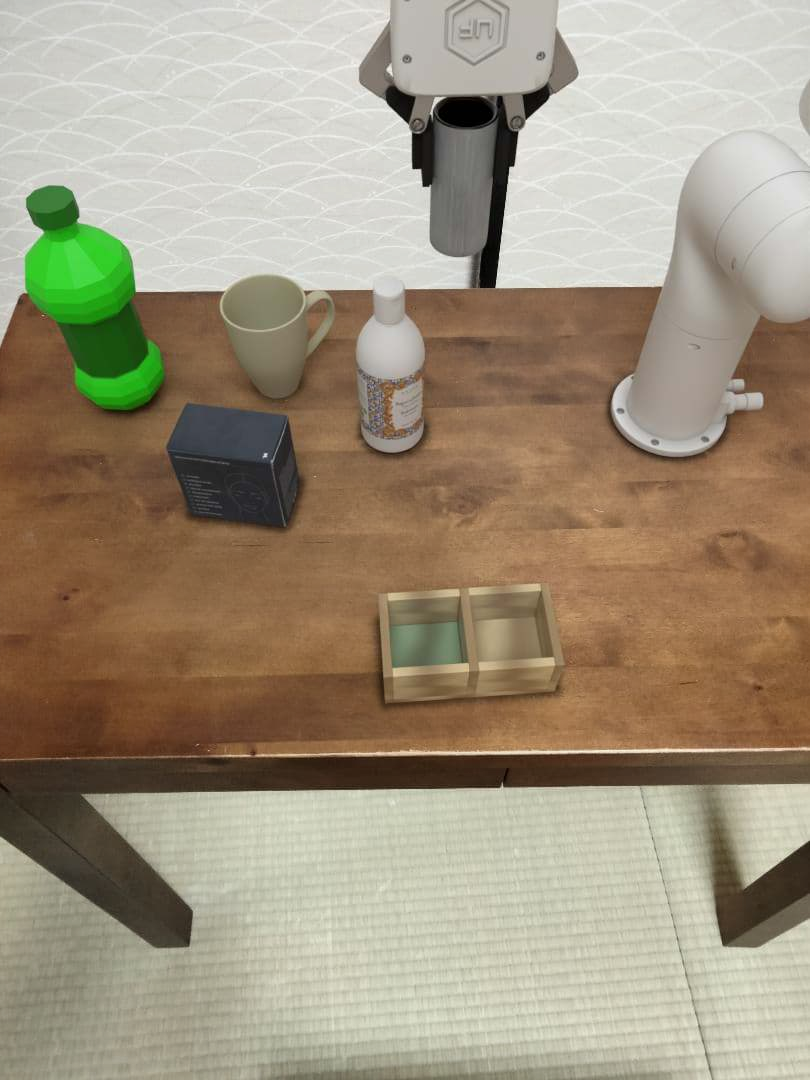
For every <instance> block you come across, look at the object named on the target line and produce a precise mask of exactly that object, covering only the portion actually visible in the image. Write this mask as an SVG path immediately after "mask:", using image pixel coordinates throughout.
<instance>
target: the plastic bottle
mask: <svg viewBox="0 0 810 1080" xmlns="http://www.w3.org/2000/svg"><path fill="white" fill-rule="evenodd" d="M25 208H26V210H27V213H28V215H29V217H30V219H31V222H32V224H33V225H34V226H35V227H37V228H39V229H40V230H42V231H43V233H42V234H41V236H39V238H38V239H37V240H36V241H35V242H34V244H33V245H32V246H31V247H30V249H29V250H28V251H27V253H26V254H25V255H24V289H25V290H26V293H27V295H28V297H29V299H30V300H31V302H32V303H33V304H34V305H35V307H37V309H38V310H40V311H41V312H43V313H44V314H45V315H47V316H48V317H50V318H51V319H52V320H54V321H55V322H56V324H57V326H58V328H59V330H60V332H61V334H62V337H63V340H64V341H65V343H66V345H67V347H68V349H69V352H70V354H71V356H72V358H73V360H74V363H73V365H74V366H73V367H74V384H75V386H76V387H77V390H78V391H79V392H80V393H81V394H82V395H84V396H85V397H86V398H87V399H89V400H90V401H91V402H93V403H94V404H95V405H97V406H99V407H100V408H101V409H104V410H115V411H116V410H117V411H132V410H135V409H137V408H140V407H142V406H144V405H145V404H146V403H148V402H150V400H151V399H152V398H153V396H154V395H155V393H157V391H158V390H159V389H160V387H162V385H163V383H164V380H165V379H164V378H165V369H164V363H163V362H164V361H163V356H162V353H161V350H160V348H159V347H158V346H157V345H156V344H155V343H154V342H153V341H151V340H150V339H149V338H147V336H146V334H145V330H144V328H143V325H142V323H141V322H142V321H141V319H140V317H139V314H138V311H137V307H136V306H135V302H134V300H133V296H134V295H136V293H137V288H136V279H135V278H136V277H135V269H134V262H133V258H132V255H131V252H130V250H129V249H128V247H127V246H126V245H125V244H124V243H123V242H122V241H121V240H120V239H119V238H116V237H115V236H114V235H112V234H110V233H108V232H107V231H105V230H103V229H102V228H100V227H96V226H93V225H90V224H86V223H82V222H78V219H79V218H80V217H81V216H80V207H79V205H78V203H77V200H76V197H75V194H74V191H73V190H71V189H69V188H67V187H66V186H64V185H45V186H43V187H39V188H37V189H34V190H33V191H32V192H31V193H30V194H29V195H28V196H26V198H25Z"/></svg>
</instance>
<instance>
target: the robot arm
mask: <svg viewBox="0 0 810 1080" xmlns="http://www.w3.org/2000/svg"><path fill="white" fill-rule="evenodd" d="M389 1H390V4H389V5H390V6H389V9H390V10H389V12H390V13H389V16H390V17H389V21H388V22H387V23H386V25H385V27H384V28H383V30H381V33H380V34H379V35H378V37H377V39H376V40H375V41H374V43H373V44H372V46H371V47H370V49H369V51H368V52H367V54H366V55H365V57H364V58H363V59H362V62H361V63H360V64H359V66H358V81H359V84H360V85H361V86H362V87H364V88H365V89H366V90H367V91H369V92H370V93H372V94H374V95H375V96H376V97H377V98H379V99H382V100H383V101H385V102H386V105H387V106H388V107H389V108H390V109H392V111H393V112H394V113H396V114H397V115H398V116H399V117H400V118H401V119H402V120H403V122H405V123H406V124H407V125H408V128H409V130H410V132H411V170H420V174H421V185H422V186H421V187H422V188H431V185H432V182H433V148H434V133H433V125H432V117H433V114H431V112H432V110H433V105H434V101H435V98H446V97H468V96H481V97H500V96H501V97H502V101H503V104H501V105H500V107H499V108H498V107H497V108H498V111H499V118H498V129H497V139H496V150H495V160H494V171H493V182H494V184H496V185H497V186H505V185H506V178H507V169H508V168H514V167H515V166H516V160H517V159H516V158H517V150H518V143H519V142H518V141H519V135H520V131H521V130H523V129H525V126H526V122H527V120H529V118H530V117H532V116H533V115H534V114H535V113H536V112H537V111H538V110H539V109H540V108H541V107H542V106H544V105H545V104H546V103H547V102H548V101H549V99H550V97H551V96H553V95H556V94H557V93H559V92H560V91H561V90H563V89H565V88H566V87H567V86H569V85H570V84H572V83H573V82H574V81H576V80H577V79H578V77H579V69H578V66H577V62H576V59H575V58H574V55H573V54H572V51H571V50H570V48H569V47H568V45H567V43H566V41H565V39H564V37H563V36H562V34H561V32H560V30H559V29H558V27H557V23H558V14H559V13H558V11H559V0H389ZM390 65H391V73H392V74H391V73H390V72H389V71H387V70H388V68H389V67H390ZM798 115H799V119H800V122H801V124H802V127H803V129H804V131H805V132H806V133H807V135H808V136H809V137H810V79H808V81H807V83H806V84H805V85H804V88H803V89H802V91H801V95H800V98H799V101H798ZM675 219H676V220H675V229H674V239H673V240H674V241H673V247H672V251H671V256H670V260H669V263H668V268H667V271H666V274H665V278H664V280H663V284H662V288H661V291H660V293H659V296H658V298H657V302H656V306H655V308H654V311H653V315H652V318H651V321H650V324H649V327H648V331H647V334H646V337H645V340H644V343H643V346H642V349H641V351H640V356H639V358H638V361H637V364H636V368H635V371H634V372H633V373H632V374H630V375H628V376H626V377H625V378H624V379H622V380H621V381H620V382H619V383H618V385H617V387H616V388H615V389H614V392H613V394H612V398H611V401H610V415H611V419H612V421H613V423H614V425H615V427H616V429H617V430H618V431H619V432H620V434H621V435H622V436H623V437H624V438H625V439H627V441H629V442H630V443H631V444H633V445H634V446H636V447H638V448H640V449H642V450H644V451H646V452H648V453H651V454H655V455H658V456H661V457H662V456H663V457H669V458H684V457H692V456H695V455H699V454H701V453H704V452H706V451H707V450H709V449H710V448H712V447H713V446H714V445H716V443H717V442H718V441H719V439H720V438H721V437H722V435H723V433H724V430H725V428H726V424H727V415H733V414H734V412H735V411H743V412H746V411H747V412H748V411H760V410H762V408H763V406H764V395H763V393H762V392H744V393H740V394H739V393H738V394H735V393H736V392H743V391H744V390H745V385H746V384H745V380H744V379H743V378H737V379H735V378H734V379H733V376H734V373H735V371H736V370H737V367H738V365H739V362H740V360H741V358H742V356H743V354H744V352H745V350H746V348H747V345H748V343H749V341H750V339H751V337H752V334H753V332H754V330H755V328H756V326H757V324H758V323H759V320H760V318H761V316H762V317H763V318H765V319H766V320H768V321H771V322H773V323H779V324H793V323H794V324H795V323H799V322H802V321H805V320H807V319H810V165H809V164H808V163H807V162H806V161H805V159H803V158H802V157H801V156H800V155H799V154H798V153H797V152H796V151H795V150H794V149H793V148H791V147H790V146H789V144H787V143H786V142H785V141H783V140H781V139H780V138H778V137H777V136H775V135H773V134H771V133H768V132H766V131H761V130H757V129H742V130H737V131H734V132H730V133H727V134H726V135H723V136H721V137H720V138H717V139H716V140H715V141H714V142H712V143H711V144H710V145H708V146H707V147H706V148H705V149H704V150H703V151H702V152H700V154H699V156H698V157H697V158H696V159H695V161H694V162H693V164H692V165H691V167H690V169H689V170H688V172H687V174H686V177H685V179H684V182H683V184H682V187H681V190H680V194H679V199H678V204H677V210H676V217H675Z"/></svg>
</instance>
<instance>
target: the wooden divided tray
mask: <svg viewBox="0 0 810 1080" xmlns="http://www.w3.org/2000/svg"><path fill="white" fill-rule="evenodd" d="M550 588H551V587H550V583H549V582H541V583H540V582H538V583H522V584H508V585H507V584H506V585H491V586H476V587H463V588H462V587H461V588H447V589H446V588H445V589H433V590H431V589H430V590H416V591H401V592H386V593H382V592H381V593H377V600H378V612H379V614H378V616H379V631H380V646H381V647H380V649H381V662H382V663H381V664H382V665H381V666H382V679H383V693H384V703H385V704H396V703H412V702H425V701H426V702H427V701H437V700H438V701H439V700H441V701H442V700H454V699H467V698H481V697H482V698H483V697H496V696H509V695H510V696H512V695H525V694H527V695H528V694H538V693H540V694H541V693H553V692H556V689H557V686H558V684H559V681H560V679H561V675H562V673H563V670H564V668H565V659H564V655H563V649H562V644H561V643H562V642H561V639H560V634H559V629H558V623H557V618H556V614H555V608H554V603H553V602H554V601H553V599H552V593H551V589H550Z"/></svg>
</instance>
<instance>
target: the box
mask: <svg viewBox="0 0 810 1080" xmlns="http://www.w3.org/2000/svg"><path fill="white" fill-rule="evenodd" d="M289 420H290V419H289V415H287V414H281V413H280V414H279V413H273V412H265V411H256V410H250V409H249V410H248V409H240V408H232V407H226V406H225V407H223V406H216V405H207V404H199V403H192V402H191V403H190V402H186V403H185V405H184V407H183V409H182V410H181V413H180V415H179V417H178V419H177V422H176V424H175V426H174V427H173V430H172V433H171V435H170V436H169V439H168V441H167V443H166V446H165V449H166V452H167V454H168V457H169V460H170V462H171V463H170V464H171V465H172V468H173V471H174V473H175V476H176V479H177V482H178V484H179V487H180V489H181V492H182V494H183V498H184V501H185V503H186V506H187V508H188V512H189V513H190V516H194V517H195V516H196V517H204V518H212V519H221V520H226V521H227V520H229V521H234V522H240V523H241V522H242V523H247V524H256V525H263V526H271V527H277V528H286V527H287V525H288V523H289V519H290V518H291V515H292V512H293V508H294V505H295V503H296V499H297V496H298V492H299V487H300V484H301V480H300V474H299V469H298V463H297V459H296V453H295V448H294V442H293V439H292V438H293V436H292V431H291V424H290V421H289Z"/></svg>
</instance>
